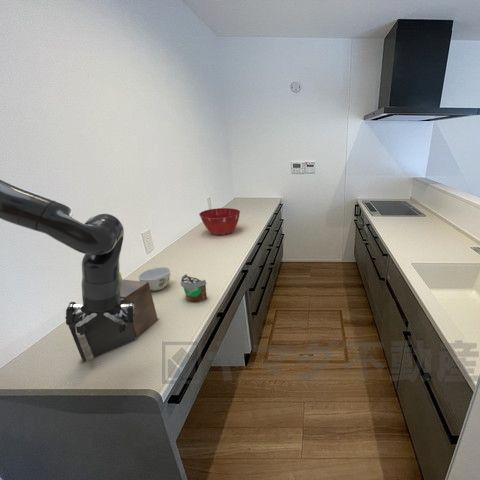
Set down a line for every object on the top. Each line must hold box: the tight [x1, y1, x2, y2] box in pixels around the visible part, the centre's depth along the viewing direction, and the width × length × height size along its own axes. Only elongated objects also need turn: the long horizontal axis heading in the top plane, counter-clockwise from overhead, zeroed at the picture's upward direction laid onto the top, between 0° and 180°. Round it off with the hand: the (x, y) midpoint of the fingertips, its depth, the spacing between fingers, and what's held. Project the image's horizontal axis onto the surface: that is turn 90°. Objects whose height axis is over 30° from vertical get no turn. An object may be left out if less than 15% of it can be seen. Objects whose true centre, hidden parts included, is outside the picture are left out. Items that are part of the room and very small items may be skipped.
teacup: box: [137, 266, 171, 292], centre depth 121 cm, size 15×12×8 cm
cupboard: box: [120, 278, 159, 339], centre depth 94 cm, size 10×14×17 cm
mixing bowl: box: [199, 207, 241, 236], centre depth 195 cm, size 28×28×16 cm
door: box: [65, 298, 137, 363], centre depth 82 cm, size 6×14×17 cm, turn 135°
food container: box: [180, 273, 208, 303], centre depth 113 cm, size 12×6×10 cm, turn 65°
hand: (103, 331), depth 73 cm, fingers open, 8 cm apart
